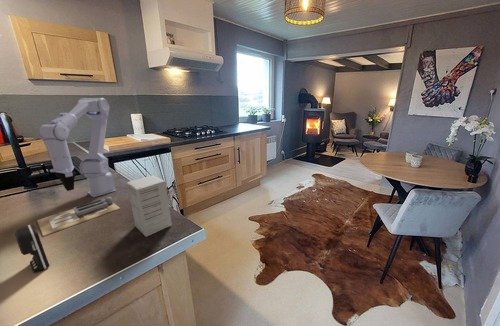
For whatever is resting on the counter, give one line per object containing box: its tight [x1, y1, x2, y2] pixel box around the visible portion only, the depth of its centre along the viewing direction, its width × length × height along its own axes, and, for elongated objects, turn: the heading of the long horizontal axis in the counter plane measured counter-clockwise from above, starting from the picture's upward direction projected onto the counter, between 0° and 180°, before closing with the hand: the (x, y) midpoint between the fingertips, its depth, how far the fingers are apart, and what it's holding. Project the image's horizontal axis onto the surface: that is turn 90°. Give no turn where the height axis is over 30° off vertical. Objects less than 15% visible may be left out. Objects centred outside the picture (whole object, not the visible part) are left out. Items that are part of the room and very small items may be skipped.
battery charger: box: [15, 223, 50, 273], centre depth 56 cm, size 7×4×11 cm, turn 51°
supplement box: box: [126, 174, 173, 238], centre depth 72 cm, size 10×9×17 cm
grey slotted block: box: [72, 196, 114, 216], centre depth 85 cm, size 12×6×2 cm, turn 140°
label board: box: [36, 198, 121, 237], centre depth 82 cm, size 23×14×1 cm, turn 140°
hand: (70, 189), depth 84 cm, fingers closed
